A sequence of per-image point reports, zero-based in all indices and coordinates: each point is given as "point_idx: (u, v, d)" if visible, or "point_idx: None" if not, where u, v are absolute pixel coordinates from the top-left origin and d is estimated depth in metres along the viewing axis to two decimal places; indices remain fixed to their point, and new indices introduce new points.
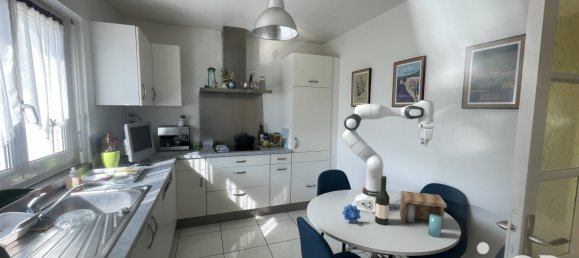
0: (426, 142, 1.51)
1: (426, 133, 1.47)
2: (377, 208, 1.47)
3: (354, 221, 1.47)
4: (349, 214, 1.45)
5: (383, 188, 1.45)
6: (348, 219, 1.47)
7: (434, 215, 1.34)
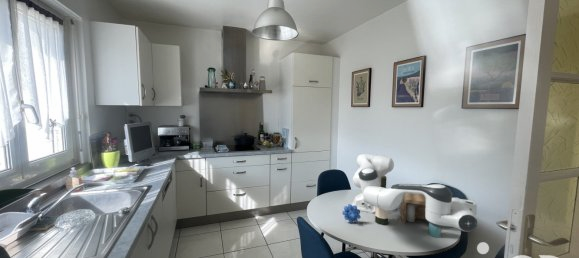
0: None
1: None
2: (377, 208, 1.47)
3: (354, 221, 1.47)
4: (349, 214, 1.45)
5: None
6: (348, 219, 1.47)
7: None
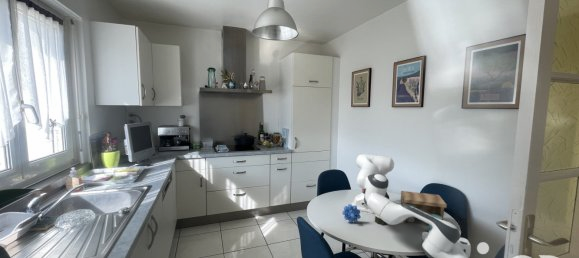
0: None
1: None
2: None
3: (354, 221, 1.47)
4: (349, 214, 1.45)
5: None
6: (348, 219, 1.47)
7: (434, 215, 1.34)
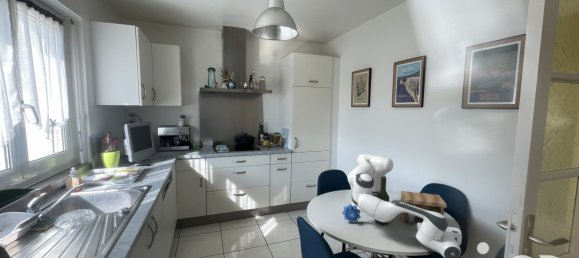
0: None
1: None
2: None
3: (354, 221, 1.47)
4: (349, 214, 1.45)
5: (383, 188, 1.45)
6: (348, 219, 1.47)
7: None
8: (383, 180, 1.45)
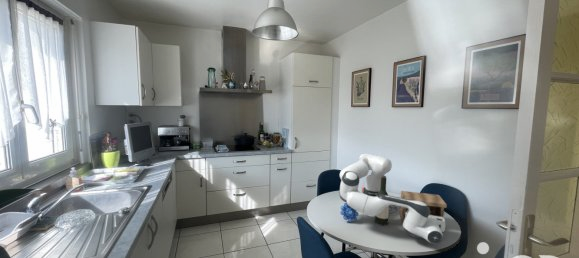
0: None
1: None
2: None
3: (354, 219, 1.48)
4: (347, 212, 1.47)
5: (383, 188, 1.45)
6: None
7: None
8: (383, 180, 1.45)
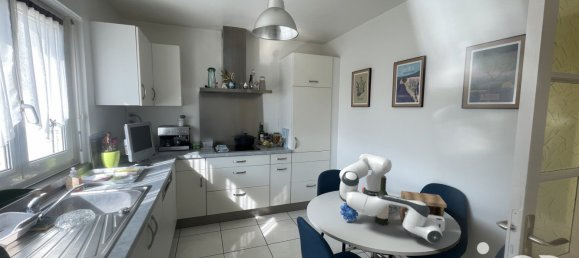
0: None
1: None
2: None
3: (354, 219, 1.48)
4: (347, 212, 1.47)
5: (383, 188, 1.45)
6: (347, 218, 1.48)
7: None
8: (383, 180, 1.45)
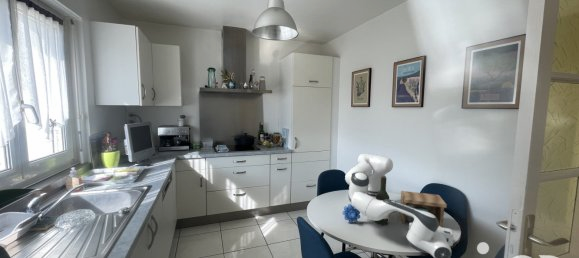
0: None
1: None
2: None
3: (354, 221, 1.47)
4: (349, 214, 1.45)
5: (383, 188, 1.45)
6: (348, 219, 1.47)
7: (420, 208, 1.45)
8: (383, 180, 1.45)
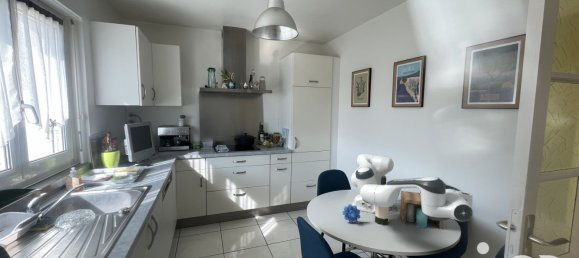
0: None
1: None
2: (377, 208, 1.47)
3: (354, 221, 1.47)
4: (349, 214, 1.45)
5: None
6: (348, 219, 1.47)
7: (421, 208, 1.45)
8: (383, 180, 1.45)
